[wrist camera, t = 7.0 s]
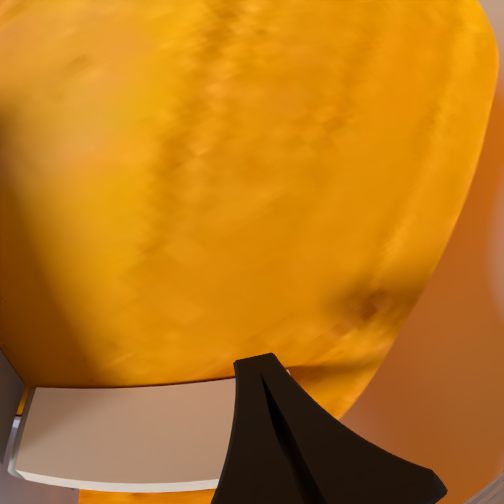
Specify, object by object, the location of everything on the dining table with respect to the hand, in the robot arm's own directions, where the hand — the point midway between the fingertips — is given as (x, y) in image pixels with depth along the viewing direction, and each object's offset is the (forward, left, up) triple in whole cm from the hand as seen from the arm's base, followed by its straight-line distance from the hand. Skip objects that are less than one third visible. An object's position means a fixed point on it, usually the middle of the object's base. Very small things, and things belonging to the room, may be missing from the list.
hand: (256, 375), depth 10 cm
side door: (-5, +6, -4) cm, 9 cm away
